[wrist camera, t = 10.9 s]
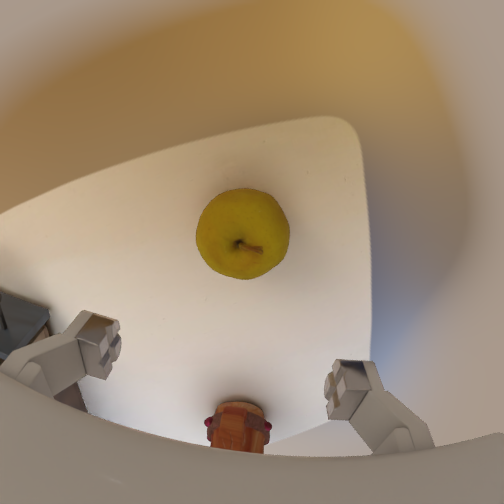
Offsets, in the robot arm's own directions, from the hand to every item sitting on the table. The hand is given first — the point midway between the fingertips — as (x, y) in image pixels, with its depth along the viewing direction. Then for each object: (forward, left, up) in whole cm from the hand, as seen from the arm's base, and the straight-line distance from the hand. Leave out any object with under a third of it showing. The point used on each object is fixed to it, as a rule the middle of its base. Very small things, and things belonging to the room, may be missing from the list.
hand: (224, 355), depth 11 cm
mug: (+20, -13, -16) cm, 29 cm away
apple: (0, 0, -16) cm, 16 cm away
